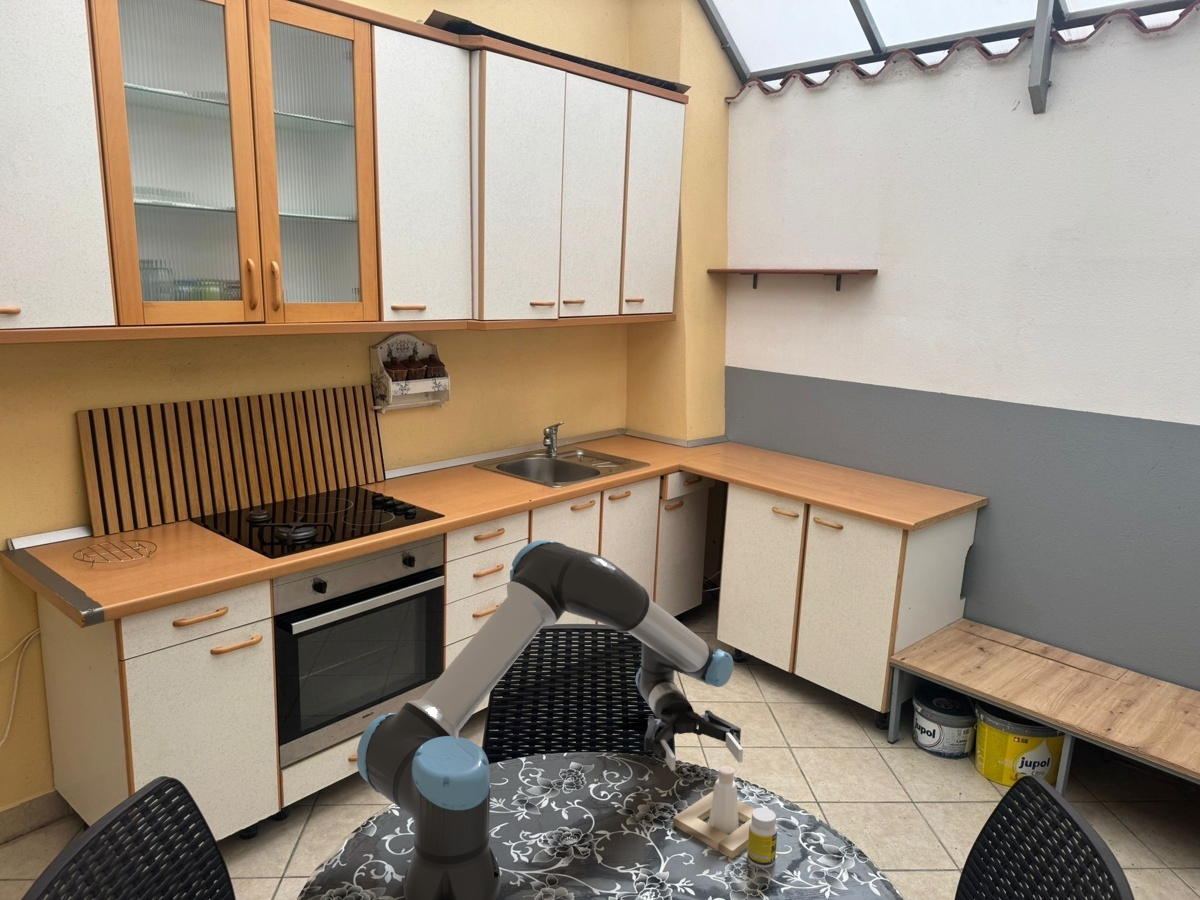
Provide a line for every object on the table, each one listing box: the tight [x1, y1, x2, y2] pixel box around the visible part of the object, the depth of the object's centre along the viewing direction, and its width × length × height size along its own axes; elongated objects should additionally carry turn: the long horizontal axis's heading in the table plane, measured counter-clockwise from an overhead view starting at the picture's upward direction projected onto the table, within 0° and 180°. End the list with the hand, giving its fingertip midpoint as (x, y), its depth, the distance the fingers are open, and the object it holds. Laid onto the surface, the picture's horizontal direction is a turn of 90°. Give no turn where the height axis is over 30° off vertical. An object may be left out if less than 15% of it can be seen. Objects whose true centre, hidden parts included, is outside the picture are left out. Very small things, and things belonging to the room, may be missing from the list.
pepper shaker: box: [708, 765, 740, 835], centre depth 149 cm, size 5×5×11 cm
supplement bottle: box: [746, 807, 778, 869], centre depth 140 cm, size 5×5×8 cm
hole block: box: [672, 790, 756, 860], centre depth 149 cm, size 13×13×2 cm
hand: (707, 760), depth 157 cm, fingers open, 13 cm apart
